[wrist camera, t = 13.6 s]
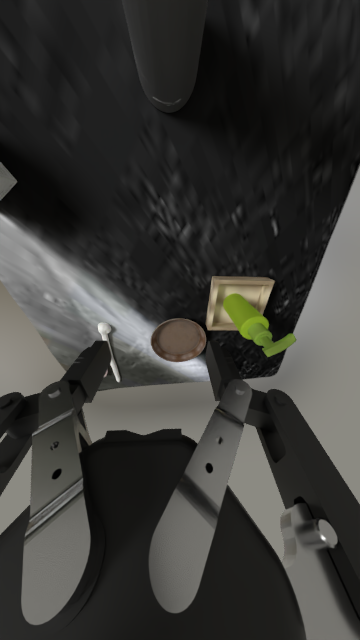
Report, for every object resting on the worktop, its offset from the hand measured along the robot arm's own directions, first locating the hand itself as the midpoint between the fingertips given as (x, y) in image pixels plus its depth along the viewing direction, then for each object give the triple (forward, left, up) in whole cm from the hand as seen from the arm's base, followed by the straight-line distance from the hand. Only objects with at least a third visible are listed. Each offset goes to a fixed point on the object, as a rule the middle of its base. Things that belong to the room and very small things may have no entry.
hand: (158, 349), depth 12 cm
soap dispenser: (+9, +19, -30) cm, 36 cm away
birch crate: (+9, +19, -30) cm, 37 cm away
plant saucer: (+22, +3, -31) cm, 38 cm away
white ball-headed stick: (+30, -20, -31) cm, 48 cm away
